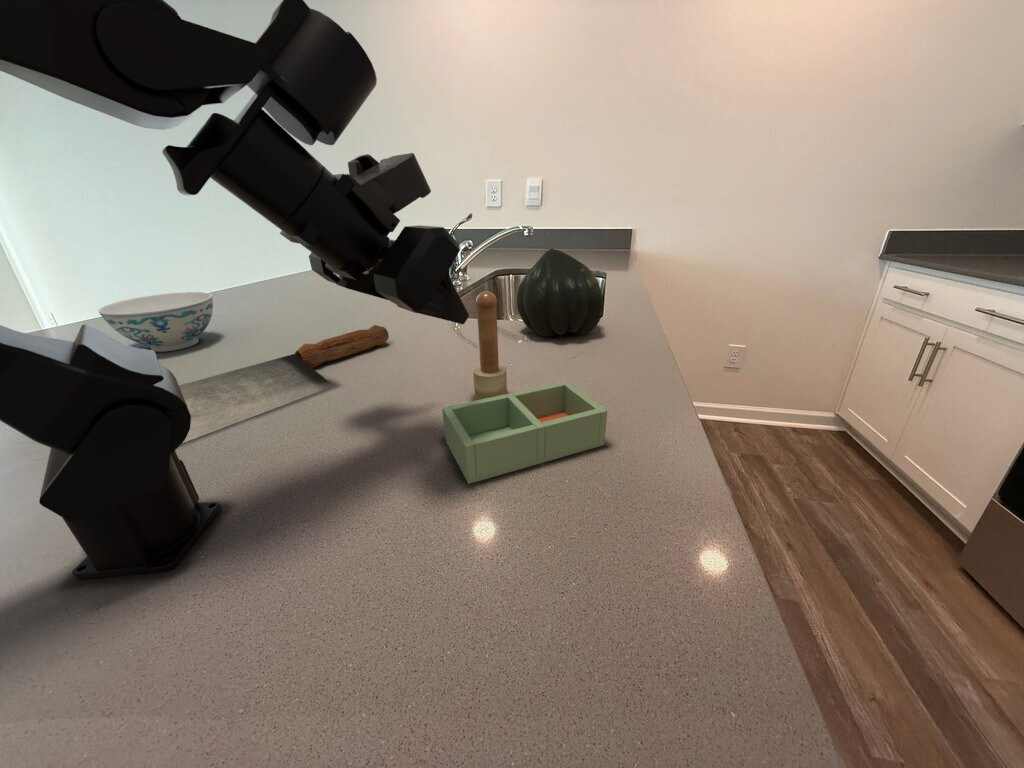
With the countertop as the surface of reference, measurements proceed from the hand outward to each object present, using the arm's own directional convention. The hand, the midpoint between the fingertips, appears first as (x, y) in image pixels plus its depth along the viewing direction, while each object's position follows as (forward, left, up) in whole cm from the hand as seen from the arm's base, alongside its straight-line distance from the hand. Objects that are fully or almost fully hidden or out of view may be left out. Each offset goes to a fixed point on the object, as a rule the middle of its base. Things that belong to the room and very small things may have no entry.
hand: (438, 310), depth 41 cm
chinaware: (+32, +49, -13) cm, 60 cm away
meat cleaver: (+13, +21, -13) cm, 28 cm away
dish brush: (+4, -5, -12) cm, 14 cm away
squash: (+29, -19, -13) cm, 37 cm away
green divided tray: (-7, -8, -12) cm, 16 cm away
